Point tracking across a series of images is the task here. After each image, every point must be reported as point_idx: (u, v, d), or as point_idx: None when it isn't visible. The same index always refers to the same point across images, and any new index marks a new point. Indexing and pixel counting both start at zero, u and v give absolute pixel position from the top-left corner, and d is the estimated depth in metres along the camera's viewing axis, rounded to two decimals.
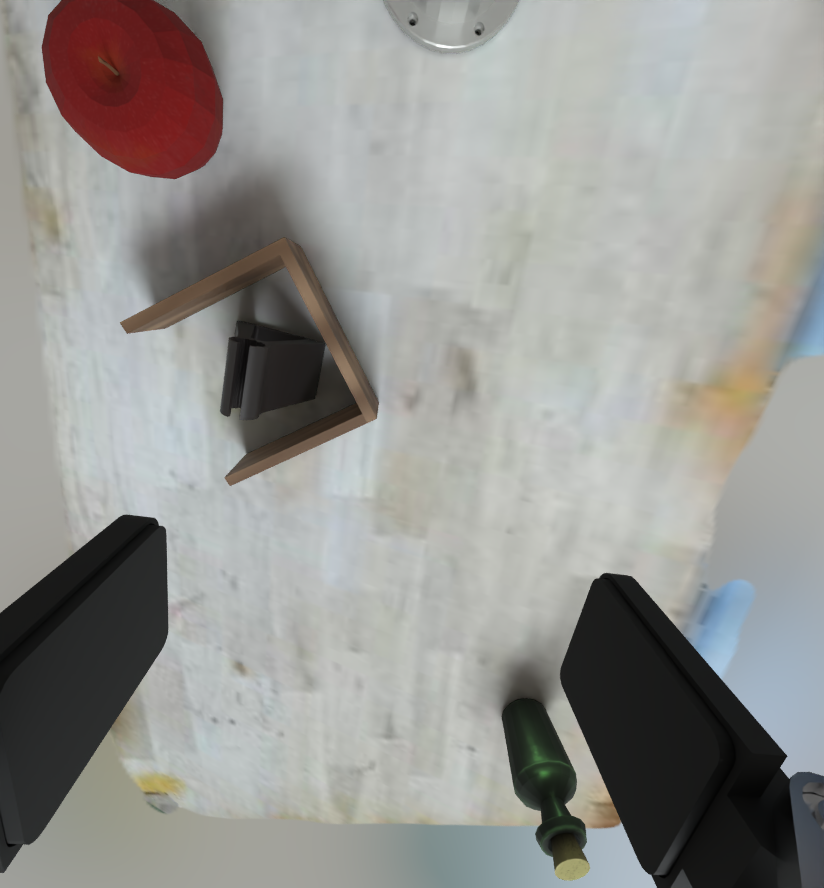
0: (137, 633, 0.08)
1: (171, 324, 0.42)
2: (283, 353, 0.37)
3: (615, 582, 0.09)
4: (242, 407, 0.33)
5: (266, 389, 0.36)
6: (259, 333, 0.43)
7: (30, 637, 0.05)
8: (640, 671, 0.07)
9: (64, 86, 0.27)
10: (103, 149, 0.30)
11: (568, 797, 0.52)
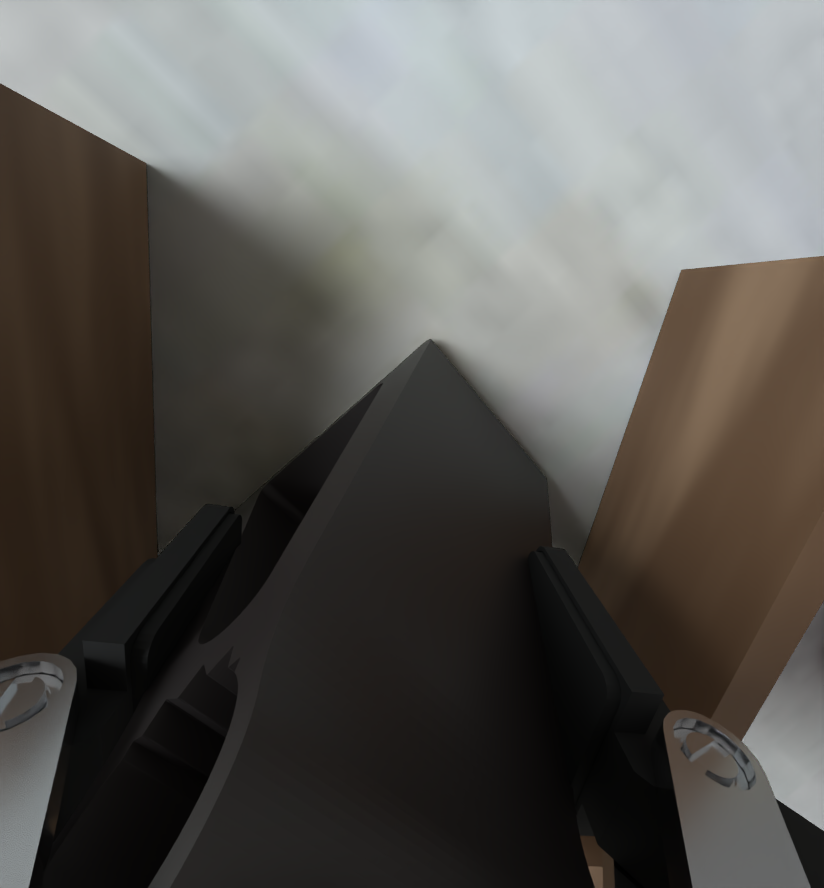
0: None
1: (678, 303, 0.12)
2: None
3: (546, 554, 0.09)
4: None
5: None
6: None
7: (161, 605, 0.06)
8: (557, 631, 0.08)
9: None
10: None
11: None
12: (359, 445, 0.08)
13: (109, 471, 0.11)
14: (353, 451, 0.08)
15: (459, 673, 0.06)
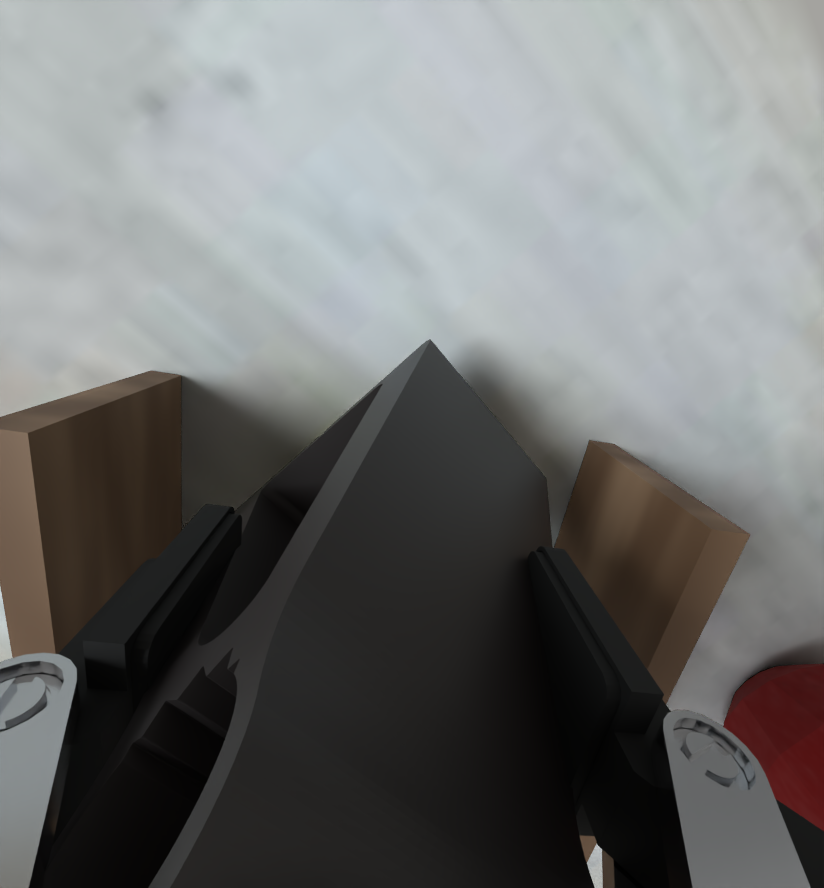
0: None
1: (586, 467, 0.16)
2: None
3: (546, 553, 0.09)
4: None
5: None
6: None
7: (161, 605, 0.06)
8: (557, 630, 0.08)
9: None
10: None
11: None
12: (359, 446, 0.08)
13: None
14: (353, 452, 0.08)
15: (459, 674, 0.06)
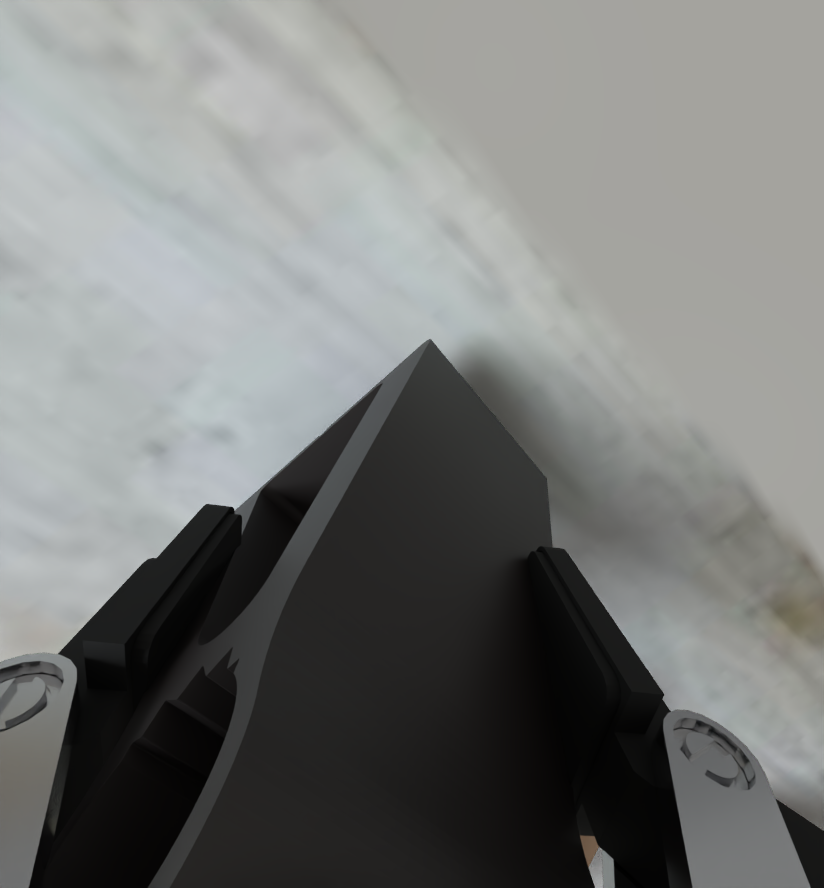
0: None
1: None
2: None
3: (546, 553, 0.09)
4: None
5: None
6: None
7: (161, 605, 0.06)
8: (557, 630, 0.08)
9: None
10: None
11: None
12: (359, 445, 0.08)
13: None
14: (353, 452, 0.08)
15: (459, 674, 0.06)
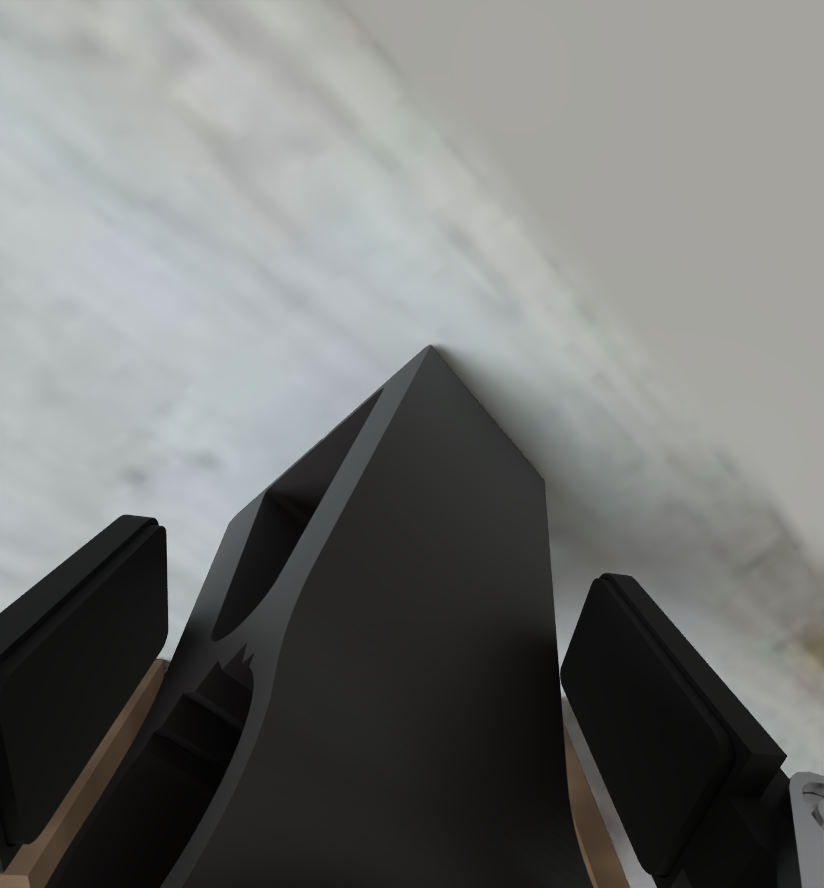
0: (137, 633, 0.08)
1: None
2: None
3: (615, 582, 0.09)
4: None
5: None
6: None
7: (30, 637, 0.05)
8: (640, 671, 0.07)
9: None
10: None
11: None
12: (362, 450, 0.08)
13: None
14: (356, 456, 0.08)
15: (458, 668, 0.06)
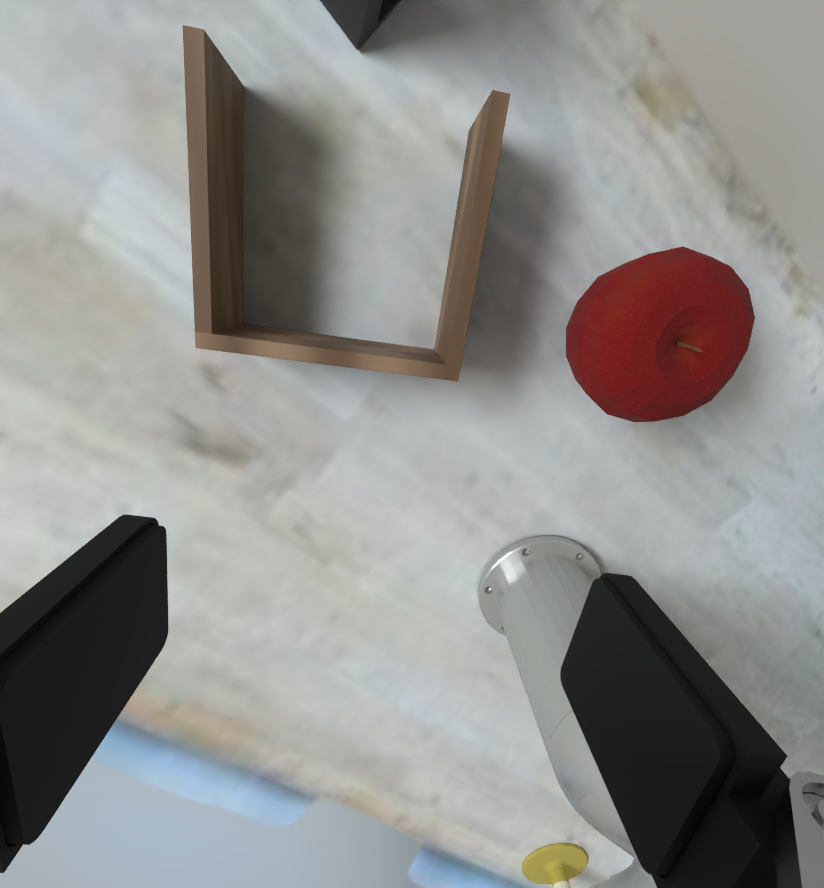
0: (137, 633, 0.08)
1: (467, 144, 0.29)
2: None
3: (615, 582, 0.09)
4: None
5: None
6: None
7: (30, 637, 0.05)
8: (640, 671, 0.07)
9: (714, 289, 0.24)
10: (651, 271, 0.24)
11: None
12: None
13: (232, 215, 0.28)
14: None
15: None
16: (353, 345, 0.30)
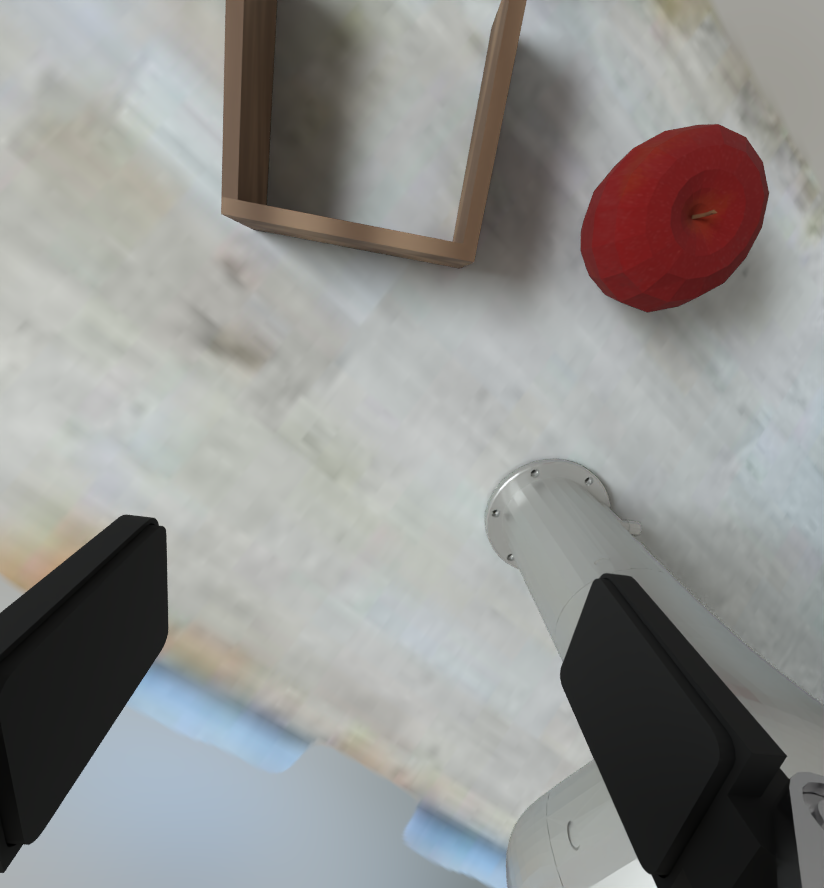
0: (137, 633, 0.08)
1: (490, 40, 0.30)
2: None
3: (615, 582, 0.09)
4: None
5: None
6: None
7: (30, 637, 0.05)
8: (640, 671, 0.07)
9: (729, 153, 0.24)
10: (667, 139, 0.25)
11: None
12: None
13: (262, 96, 0.29)
14: None
15: None
16: None
